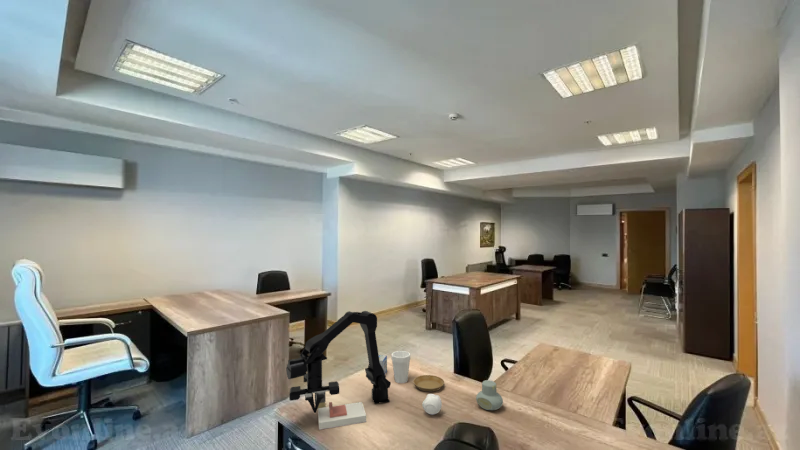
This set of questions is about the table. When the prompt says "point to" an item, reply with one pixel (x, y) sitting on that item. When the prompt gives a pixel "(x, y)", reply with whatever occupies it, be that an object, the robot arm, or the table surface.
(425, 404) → the crumpled paper ball
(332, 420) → the socket plate
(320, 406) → the plug
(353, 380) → the table surface
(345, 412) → the pink toy block
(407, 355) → the foam cup
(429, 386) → the plant saucer
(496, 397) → the air freshener
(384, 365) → the medicine box
